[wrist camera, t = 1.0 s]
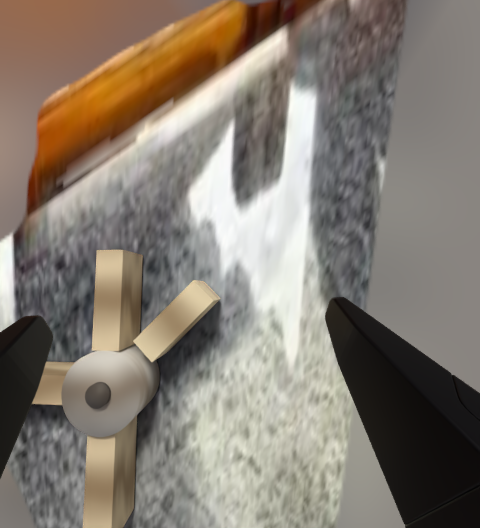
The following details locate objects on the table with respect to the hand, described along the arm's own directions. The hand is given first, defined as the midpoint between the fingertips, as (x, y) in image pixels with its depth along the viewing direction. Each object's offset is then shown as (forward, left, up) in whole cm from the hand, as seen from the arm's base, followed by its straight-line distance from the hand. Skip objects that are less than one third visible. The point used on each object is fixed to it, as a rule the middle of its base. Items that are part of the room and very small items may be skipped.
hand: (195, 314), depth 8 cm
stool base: (-8, +16, -18) cm, 26 cm away
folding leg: (-2, +5, -18) cm, 19 cm away
